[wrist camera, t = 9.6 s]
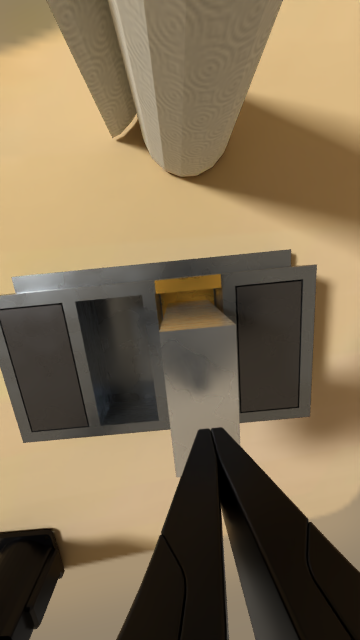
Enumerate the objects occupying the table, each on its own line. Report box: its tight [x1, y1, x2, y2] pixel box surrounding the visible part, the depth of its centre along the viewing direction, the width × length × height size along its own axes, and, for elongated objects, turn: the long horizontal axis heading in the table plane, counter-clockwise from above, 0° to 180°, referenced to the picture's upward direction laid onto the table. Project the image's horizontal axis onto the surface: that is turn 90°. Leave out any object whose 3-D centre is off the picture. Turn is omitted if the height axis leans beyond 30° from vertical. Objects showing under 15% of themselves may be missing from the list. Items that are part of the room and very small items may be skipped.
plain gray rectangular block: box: [159, 300, 240, 477], centre depth 13 cm, size 3×7×8 cm, turn 5°
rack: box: [0, 249, 317, 443], centre depth 16 cm, size 21×13×4 cm, turn 95°
